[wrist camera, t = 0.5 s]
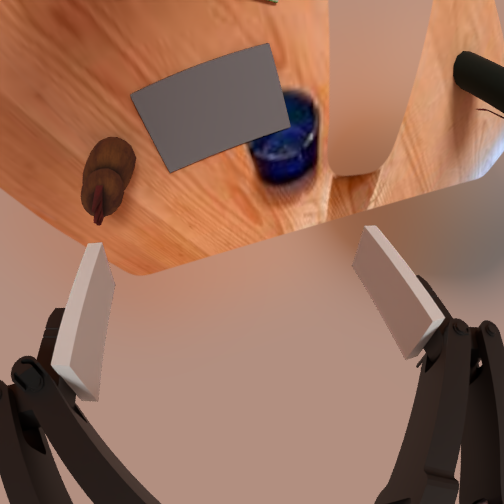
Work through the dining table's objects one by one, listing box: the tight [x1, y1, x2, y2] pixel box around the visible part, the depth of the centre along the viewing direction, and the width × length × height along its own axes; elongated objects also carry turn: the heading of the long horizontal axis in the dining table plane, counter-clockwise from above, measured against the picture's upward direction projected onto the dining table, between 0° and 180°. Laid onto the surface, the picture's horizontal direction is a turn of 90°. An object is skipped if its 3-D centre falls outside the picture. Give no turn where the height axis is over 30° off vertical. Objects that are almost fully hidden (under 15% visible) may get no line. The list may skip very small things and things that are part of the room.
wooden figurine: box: [81, 137, 136, 225], centre depth 29 cm, size 7×6×15 cm
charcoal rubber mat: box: [130, 43, 291, 173], centre depth 33 cm, size 17×12×1 cm
